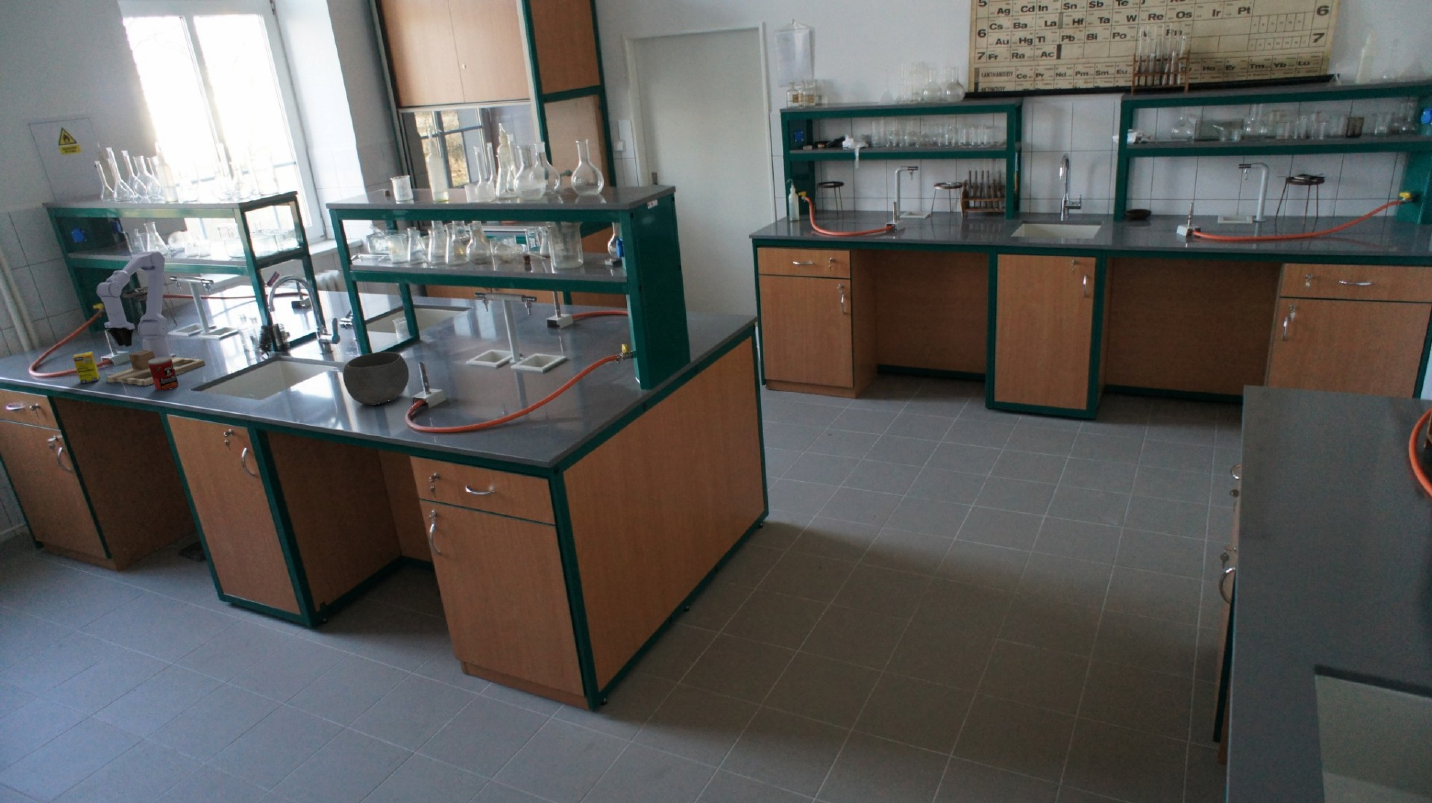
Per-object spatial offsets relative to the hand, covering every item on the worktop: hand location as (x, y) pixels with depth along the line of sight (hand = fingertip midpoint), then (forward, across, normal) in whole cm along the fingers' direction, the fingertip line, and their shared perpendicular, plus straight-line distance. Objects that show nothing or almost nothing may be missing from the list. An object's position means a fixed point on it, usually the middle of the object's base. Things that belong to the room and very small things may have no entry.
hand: (125, 345), depth 367 cm
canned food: (+11, +35, -12) cm, 38 cm away
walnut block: (+8, +8, 0) cm, 12 cm away
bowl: (+11, +130, -4) cm, 130 cm away
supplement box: (+11, -5, -14) cm, 18 cm away
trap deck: (+10, +14, 0) cm, 17 cm away
